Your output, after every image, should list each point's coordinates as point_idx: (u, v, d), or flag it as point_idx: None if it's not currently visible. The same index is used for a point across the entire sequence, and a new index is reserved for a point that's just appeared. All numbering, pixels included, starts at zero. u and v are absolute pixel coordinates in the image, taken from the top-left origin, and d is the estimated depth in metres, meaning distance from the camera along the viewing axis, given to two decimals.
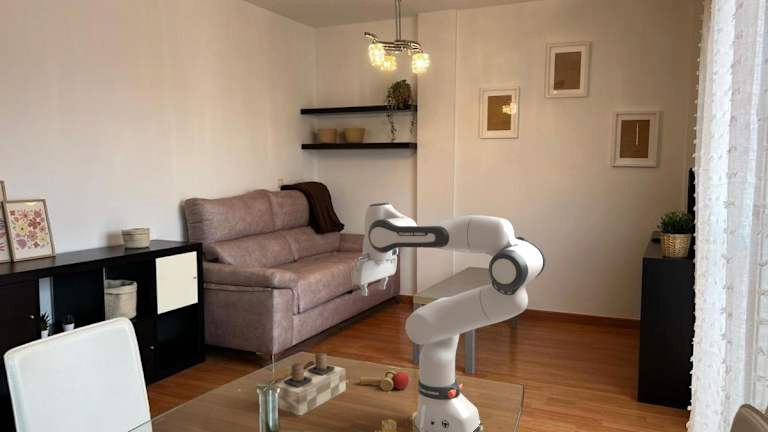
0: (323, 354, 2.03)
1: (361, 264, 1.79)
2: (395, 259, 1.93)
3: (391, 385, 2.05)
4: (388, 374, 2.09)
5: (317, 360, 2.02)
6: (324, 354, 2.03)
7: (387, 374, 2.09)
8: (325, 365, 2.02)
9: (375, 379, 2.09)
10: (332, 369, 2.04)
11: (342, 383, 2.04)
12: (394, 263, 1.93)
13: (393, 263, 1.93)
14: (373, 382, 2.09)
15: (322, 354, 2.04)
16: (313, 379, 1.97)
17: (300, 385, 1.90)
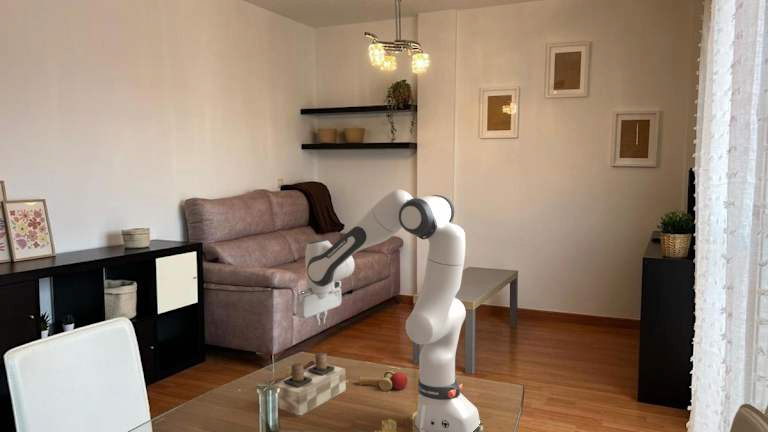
0: (323, 354, 2.03)
1: (303, 298, 1.93)
2: (339, 291, 2.06)
3: (390, 385, 2.05)
4: (387, 374, 2.09)
5: (317, 360, 2.02)
6: (324, 354, 2.03)
7: (386, 374, 2.10)
8: (325, 365, 2.02)
9: (374, 379, 2.09)
10: (332, 369, 2.04)
11: (342, 383, 2.04)
12: (338, 295, 2.06)
13: (337, 296, 2.06)
14: (372, 382, 2.09)
15: (322, 354, 2.04)
16: (313, 379, 1.97)
17: (300, 385, 1.90)
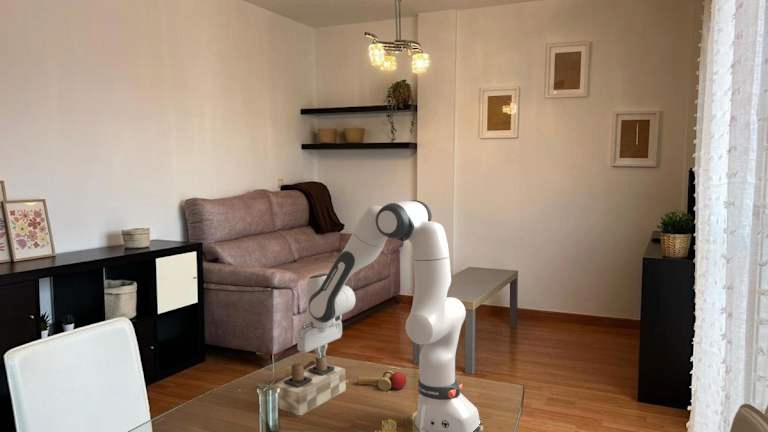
0: (323, 357, 2.03)
1: (304, 333, 1.94)
2: (340, 324, 2.07)
3: (389, 385, 2.05)
4: (386, 374, 2.09)
5: (317, 363, 2.02)
6: (324, 357, 2.03)
7: (385, 374, 2.10)
8: (325, 368, 2.02)
9: (373, 379, 2.09)
10: (332, 369, 2.04)
11: (342, 383, 2.04)
12: (339, 327, 2.08)
13: (338, 328, 2.08)
14: (371, 382, 2.09)
15: None
16: (313, 379, 1.97)
17: (300, 385, 1.90)
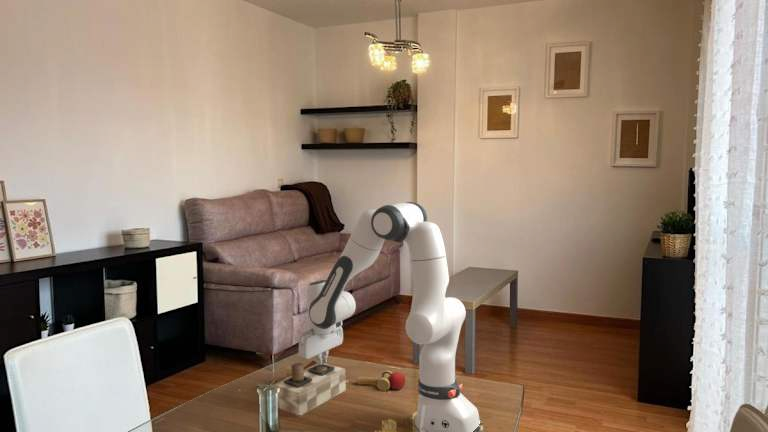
0: (323, 368, 2.04)
1: (305, 340, 1.94)
2: (340, 330, 2.07)
3: (388, 385, 2.05)
4: (385, 374, 2.09)
5: None
6: (324, 368, 2.04)
7: (384, 374, 2.10)
8: None
9: (372, 379, 2.09)
10: (332, 369, 2.04)
11: (342, 383, 2.04)
12: (340, 334, 2.08)
13: (339, 334, 2.08)
14: (370, 382, 2.09)
15: (322, 367, 2.04)
16: (313, 379, 1.97)
17: (300, 385, 1.90)
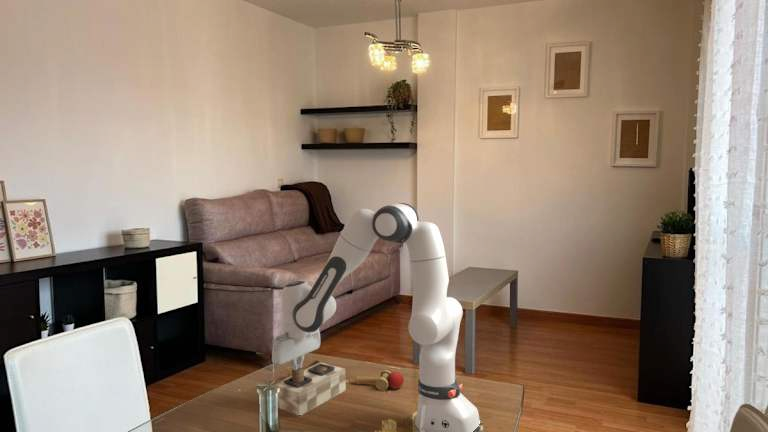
0: (323, 368, 2.04)
1: (279, 344, 1.84)
2: (318, 334, 1.98)
3: (386, 385, 2.05)
4: (383, 374, 2.10)
5: None
6: (324, 368, 2.04)
7: (382, 374, 2.10)
8: None
9: (370, 379, 2.09)
10: (332, 369, 2.04)
11: (342, 383, 2.04)
12: (317, 338, 1.98)
13: (316, 338, 1.98)
14: (368, 381, 2.09)
15: (322, 367, 2.04)
16: (313, 379, 1.97)
17: (300, 385, 1.90)
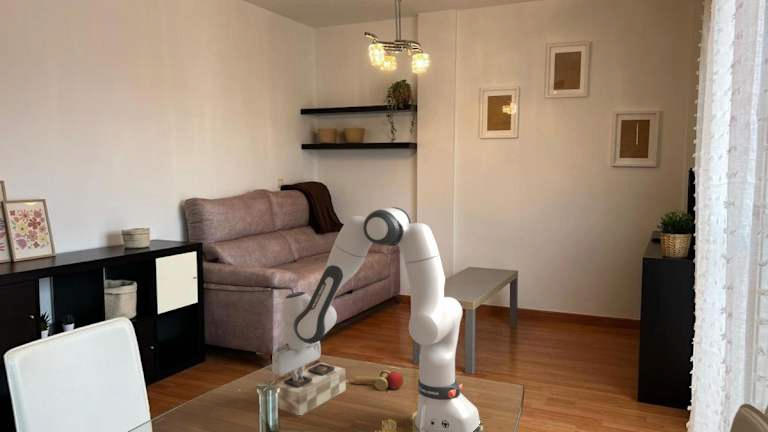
0: (323, 368, 2.04)
1: (279, 355, 1.85)
2: (318, 344, 1.98)
3: (385, 384, 2.05)
4: (383, 374, 2.10)
5: None
6: (324, 368, 2.04)
7: (382, 373, 2.10)
8: None
9: (370, 378, 2.09)
10: (332, 369, 2.04)
11: (342, 383, 2.04)
12: (317, 348, 1.99)
13: (316, 349, 1.98)
14: (368, 381, 2.09)
15: (322, 367, 2.04)
16: (313, 379, 1.97)
17: (300, 385, 1.90)
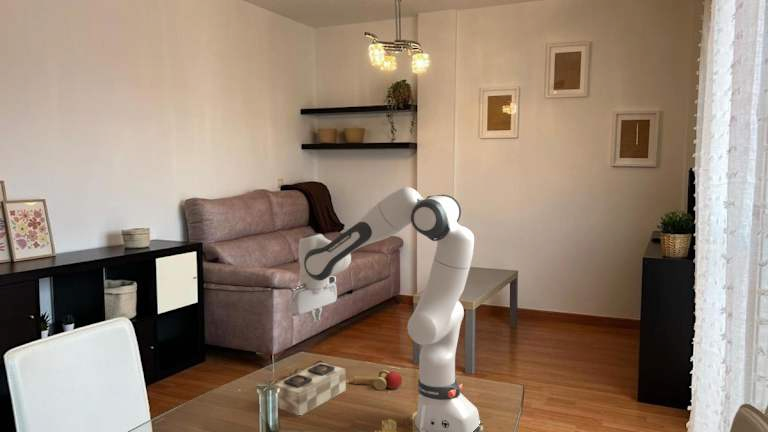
0: (323, 368, 2.04)
1: (297, 294, 1.86)
2: (334, 287, 1.99)
3: (384, 384, 2.05)
4: (381, 373, 2.10)
5: None
6: (324, 368, 2.04)
7: (380, 373, 2.10)
8: None
9: (368, 378, 2.09)
10: (332, 369, 2.04)
11: (342, 383, 2.04)
12: (334, 291, 2.00)
13: (332, 291, 2.00)
14: (367, 381, 2.10)
15: (322, 367, 2.04)
16: (313, 379, 1.97)
17: (300, 385, 1.90)
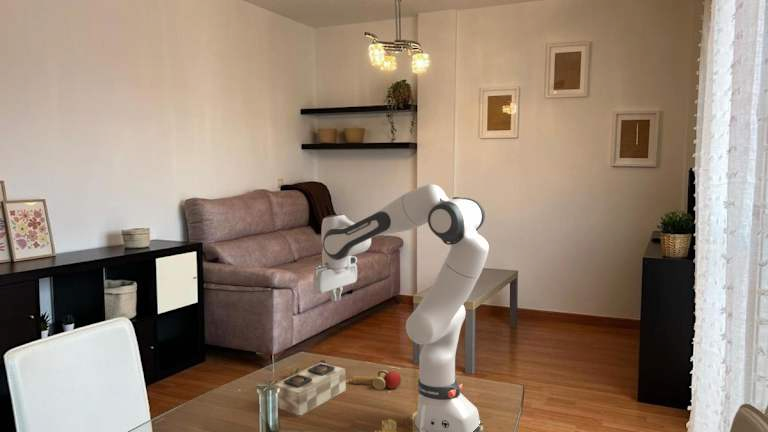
0: (323, 368, 2.04)
1: (320, 273, 1.90)
2: (355, 267, 2.03)
3: (383, 384, 2.05)
4: (381, 373, 2.10)
5: None
6: (324, 368, 2.04)
7: (380, 373, 2.10)
8: None
9: (368, 378, 2.10)
10: (332, 369, 2.04)
11: (342, 383, 2.04)
12: (354, 271, 2.04)
13: (353, 272, 2.03)
14: (366, 381, 2.10)
15: (322, 367, 2.04)
16: (313, 379, 1.97)
17: (300, 385, 1.90)
